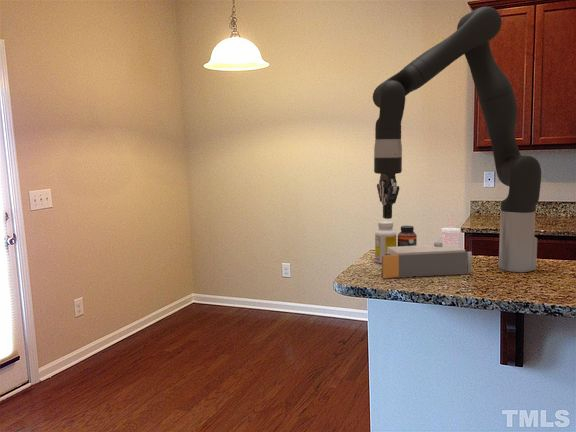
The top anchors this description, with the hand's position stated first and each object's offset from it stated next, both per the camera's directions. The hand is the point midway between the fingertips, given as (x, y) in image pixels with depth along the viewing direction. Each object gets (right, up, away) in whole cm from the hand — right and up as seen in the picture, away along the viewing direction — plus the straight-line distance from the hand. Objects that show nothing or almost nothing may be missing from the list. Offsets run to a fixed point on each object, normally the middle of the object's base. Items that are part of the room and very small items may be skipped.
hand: (387, 218), depth 141 cm
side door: (+11, -16, +1) cm, 20 cm away
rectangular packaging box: (+12, -16, +6) cm, 21 cm away
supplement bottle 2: (+10, -14, +21) cm, 27 cm away
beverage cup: (+27, -13, +28) cm, 41 cm away
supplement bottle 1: (+3, -14, +20) cm, 25 cm away
